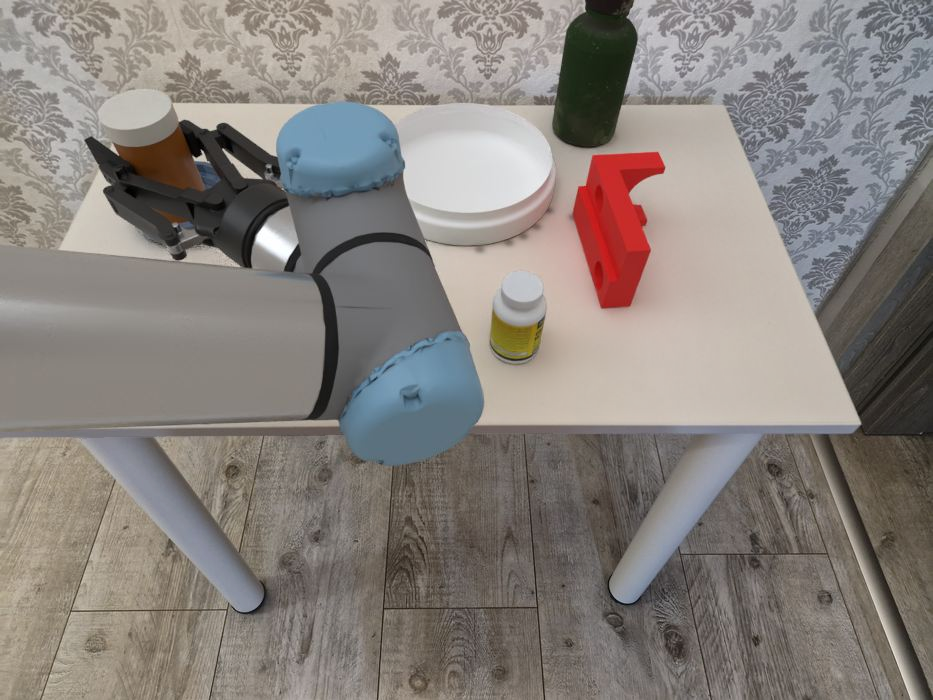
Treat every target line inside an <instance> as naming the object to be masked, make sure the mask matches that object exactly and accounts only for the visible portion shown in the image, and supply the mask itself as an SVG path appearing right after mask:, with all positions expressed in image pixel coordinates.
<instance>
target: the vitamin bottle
mask: <svg viewBox="0 0 933 700" xmlns="http://www.w3.org/2000/svg"><path fill="white" fill-rule="evenodd" d="M97 118H98V121H99V123H100V124H101V126H102V128H103V130H104V131H105V134H106V137H108V139H109V140H110V141H111V142H112V145H113V146H114V149H115V150H116V153H117V155H119V156H120V157H121V158H122V159H124V160H126V161H127V162H128V163H130V164H131V165H132V167H133V169H134V171H135V172H136V174H137V175H138V176H141V177H145V178H148V179H151V180H154V181H158V182H161V183H164V184H167V185H170V186H174V187H177V188H180V189H183V190H185V189H186V188H187V187H190V188H193V189H196V190H199V191H204V190H206V188H205V186H204V183H203V181H202V178H201V176H200V174H199V171H198V169H197V166H196V164H195V161H196V160H195V159H194V156H192V154H191V151H190V149H189V147H188V144H187V142H186V139H185V137H184V134H183V132H182V129H181V127H180V124H179V122H180V121H179V117H178V115H177V112H176V109H175V106H174V104H173V101H172V99H171V97H170V96H169V95H167V94H166V93H165V92H162V91H160V90H157V89H153V88H136V89H135V88H134V89H130V90H125V91H122V92H120V93H117V94H115V95H113V96H111V97H109V98H108V99H107V100H105V102H103V103H102V104H101V106H100V107H99V109H98V111H97ZM178 121H179V122H178ZM152 209H153V208H152ZM153 210H155V211H156V212H158V213H160V214H161V215H163V216H164V217H166V218H167V219H168V220H169V221H170V222H171V224H172V223H174V222H177V223H178V224H179V223H184V222H187V221H188V220H186V219H184V218H181V217H178V216H174V215H171V214H168V213H165V212H162V211H159V210H156V209H153Z"/></svg>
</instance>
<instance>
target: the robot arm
mask: <svg viewBox="0 0 933 700" xmlns="http://www.w3.org/2000/svg"><path fill="white" fill-rule="evenodd" d="M178 122H179V124H180V127H181V129H182V132H183V134H184V137H185V139H186V142H187V144H188V147H189V149H190V151H191V154H192V156H193V158H195V159H198V158H199V157H201V156H203V155H204V156H205V160H206V162H208V163H210V164H211V165H212V167H213V168H214V170H215V172H216V173H217V175H218V176H219V178H220V179H221V180H220V181H219V182H217V183H216V184H215V185H214V186H213V187H212V188H209V189H207V190H204V191H199V190H196V189H193V188H190V187H187V188H186V189H185V190H183V189H180V188H177V187H174V186H170V185H167V184H164V183H161V182H158V181H154V180H151V179H148V178H145V177H141V176H138V175H137V174H136V172H135V171H134V169H133V167H132V165H131V164H130V163H128V162H127V161H126V160H124V159H122V158H121V157H120V156H119V154H118V153H117V152H115V151H113V150H111V149H110V148H109V147H107V146H106V145H105V144H103V143H102V142H101V141H99V140H98V139H96V138H95V137H93V136H92V135H90V136H88V137H86V138H85V139H83V140H84V143H85V144H86V146H87V148H88V150H89V151H90V153H91V155H92V157H93V159H94V161H95V162H96V164H97V165H98V169H99V171H100V173H101V175H102V176H103V179H105V181H106V182H107V183H108V184H109V185H107V186H105V187H104V188H103V190H102V193H103V195H104V196H105V198H106V200H107V202H108V204H109V205H110V207H111V209H112V210H113V212H114V214H115V215H117V216H118V217H120V218H121V219H122V220H124V221H126V222H127V223H129V224H130V225H132V226H134V228H135V227H137V228H138V229H140V230H141V231H143V232H144V233H146V234H147V235H149V236H150V237H152V238H154V239H155V240H157V241H158V242H160V243H159V244H161V245H163V246H164V247H165V248H166V249H167V250H168V252H169V254H170V256H171V258H172V259H173V260H170V259H169V260H168V259H158V258H149V257H138V256H137V257H136V256H126V255H117V254H116V255H115V254H106V253H105V254H104V253H97V252H96V253H95V252H85V251H75V250H74V251H73V250H64V249H63V250H62V249H53V248H42V247H33V246H32V247H30V246H22V245H11V244H1V243H0V433H5V432H6V433H8V432H9V433H10V432H34V431H36V432H38V431H59V430H60V431H61V430H89V429H90V430H91V429H111V428H112V429H114V428H115V429H117V428H140V427H167V426H188V425H190V426H194V425H197V426H198V425H219V424H220V425H221V424H246V423H248V424H249V423H250V424H251V423H275V422H277V423H278V422H298V421H301V422H302V421H338V425H339V431H340V434H342V435H343V436H344V438H345V441H346V444H347V446H348V449H349V450H350V452H351V453H352V454H353V455H354V456H355V457H356V458H358V459H360V460H361V461H363V462H370V463H371V462H375V463H376V464H377V465H379V466H385V467H396V466H405V465H410V464H414V463H418V462H422V461H425V460H428V459H431V458H434V457H436V456H438V455H441V454H442V453H444V452H446V451H448V450H449V449H451V448H453V447H454V446H456V445H457V444H459V443H460V442H461V441H463V440H464V439H465V438H466V437H467V436H469V434H470V432H471V431H472V428H474V426H475V425H477V424H478V423H479V421H480V420H481V417H482V415H483V412H484V408H485V395H484V389H483V386H482V383H481V380H480V377H479V373H478V371H477V367H476V364H475V361H474V358H473V354H472V352H471V343H470V341H469V339H468V337H467V335H466V334H465V333H464V332H463V330H462V329H461V325H460V323H459V320H458V318H457V316H456V314H455V311H454V309H453V307H452V304H451V302H450V300H449V297H448V295H447V293H446V290H445V288H444V285H443V283H442V281H441V278H440V275H439V274H438V272H437V269H436V265H435V263H434V260H433V257H432V254H431V251H430V249H429V247H428V244H427V241H426V239H424V237H423V234H422V232H421V229H420V227H419V224H418V222H417V219H416V216H415V214H414V211H413V209H412V207H411V204H410V202H409V199H408V197H407V193H406V190H405V185H404V179H403V172H404V169H405V161H404V159H403V158H402V156H401V149H400V142H399V135H398V132H397V129H396V127H395V126H394V122H393V121H392V120H391V119H390V118H389V117H388V116H387V115H386V114H385V113H384V112H382V111H380V109H377V108H375V107H372V106H370V105H367V104H364V103H359V102H353V101H343V100H341V101H333V102H330V103H329V102H327V103H322V104H315V105H312V106H309V107H307V108H305V109H303V110H301V111H299V112H297V113H295V114H294V115H293V116H291V117H290V118H289V119H288V120H287V121H286V122H285V123H284V124H283V125H282V127H281V128H280V130H279V132H278V134H277V138H276V142H275V145H276V146H275V151H276V152H275V153H276V155H272V154H271V153H269V152H267V150H265V149H263V148H262V147H261V146H259V144H257V143H255V142H254V141H252V140H251V139H249V138H248V137H247V136H246V135H244V134H242V133H241V132H240V131H238V130H237V129H236V128H235V127H233V126H232V125H230V124H229V123H228V122H220V123H218V124H217V125H216V127H215V129H213V130H210V129H208V128H201V126H198V125H197V124H195V123H194V122H192V121H190V120H188V119H182V120H178ZM226 153H228V154H229V155H231V156H232V157H233V158H234V159H236V160H237V161H239V162H240V163H241V164H242V165H243V166H245V167H246V168H247V169H250V171H252V172H253V173H254V174H256V176H259V177H260V178H249V177H248V178H247V177H244V176H243V175H242V174H241V173H240V170H238V168H237V167H236V165H235V164H234V163H232V162H231V160H230V159H229V157H228V156H227V154H226ZM152 208H153V209H156V210H159V211H162V212H165V213H168V214H171V215H174V216H178V217H181V218H184V219H186V220H188V221H189V222H190V223H191V224H192V225H194V229H190V230H189V229H185V228H184V227H182V226H179V224H178V223H177V222H174V223H172V224H171V222H170V221H169V220H168V219H167V218H166V217H164V216H163V215H161V214H160V213H158V212H156V211H155V210H153V209H152ZM158 242H157V243H158ZM200 244H202V245H203V246H206V247H211V248H215V249H217V250H220V252H222V253H223V254H224V255H225V256H226V257H227V258H229V259H230V260H232V261H233V262H234V263H236V264H237V265H238V266H233V265H223V264H222V265H221V264H211V263H199V262H191V261H190V262H189V261H183V260H185V259H186V258H187V256H188V253H187V250H188V249H191V248H193V247H196V246H198V245H200Z"/></svg>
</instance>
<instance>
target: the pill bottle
mask: <svg viewBox="0 0 933 700" xmlns="http://www.w3.org/2000/svg"><path fill="white" fill-rule="evenodd" d="M544 287H545V286H544V282H543V281H542V279H541V278H540V277H539V276H538V275H536V274H535V273H533V272H531V271H528V270H515V271H512V272H509V273H508V274H506V275H505V276H504V278H503V279H502V281H501V284H500V288H499V289H498V290H497V291H496V293H495V295H494V296H493V300H492V308H491V319H490V329H489V348H490V350H491V352H492V353H493V355H494V356H495V357H496V358H497V359H499V360H500V361H502V362H505V363H507V364H513V365H519V364H525V363H527V362H530V360H532V359H533V358H534V357H536V355H537V353H538V351H539V349H540V346H541V345H540V344H541V340H542V334H543V330H544V324H545V321H546V314H547V310H548V303H547V299H546V297H545V295H544V292H545V291H544V289H545V288H544Z"/></svg>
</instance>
